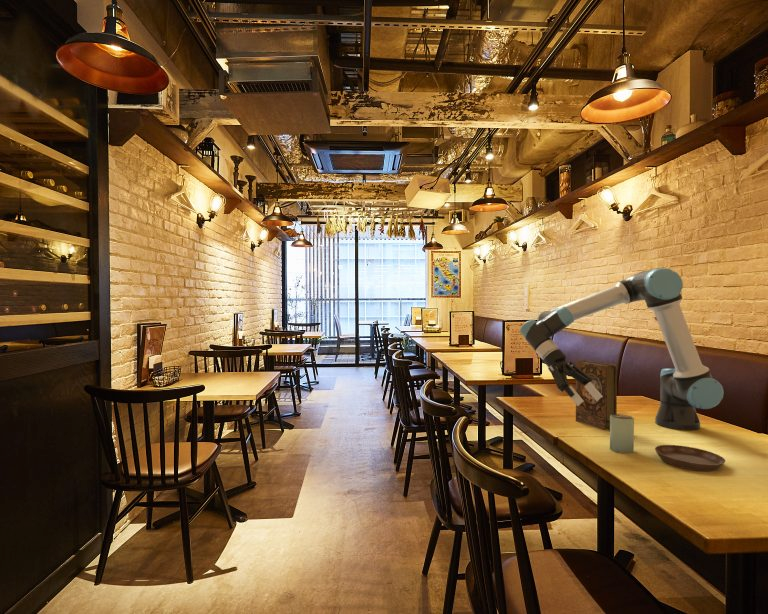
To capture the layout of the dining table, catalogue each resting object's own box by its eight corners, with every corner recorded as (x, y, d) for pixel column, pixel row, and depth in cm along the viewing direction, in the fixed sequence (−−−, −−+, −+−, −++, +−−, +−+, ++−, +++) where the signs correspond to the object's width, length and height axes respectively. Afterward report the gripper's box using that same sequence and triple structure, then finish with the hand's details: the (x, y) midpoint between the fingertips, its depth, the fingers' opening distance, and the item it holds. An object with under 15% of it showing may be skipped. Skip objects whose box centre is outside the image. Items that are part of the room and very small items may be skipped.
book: (573, 420, 185) (573, 361, 185) (583, 419, 187) (583, 360, 187) (606, 430, 169) (606, 365, 169) (616, 429, 171) (616, 365, 171)
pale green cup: (629, 447, 148) (629, 414, 148) (637, 454, 142) (637, 419, 142) (606, 446, 150) (607, 413, 150) (614, 452, 143) (614, 418, 143)
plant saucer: (720, 460, 137) (720, 450, 137) (730, 478, 122) (730, 467, 122) (654, 450, 146) (654, 441, 146) (655, 466, 131) (655, 456, 131)
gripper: (562, 358, 175) (599, 402, 164) (525, 363, 160) (564, 412, 148) (574, 346, 171) (614, 390, 159) (539, 349, 156) (579, 399, 144)
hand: (590, 401), depth 154 cm, fingers open, 13 cm apart
